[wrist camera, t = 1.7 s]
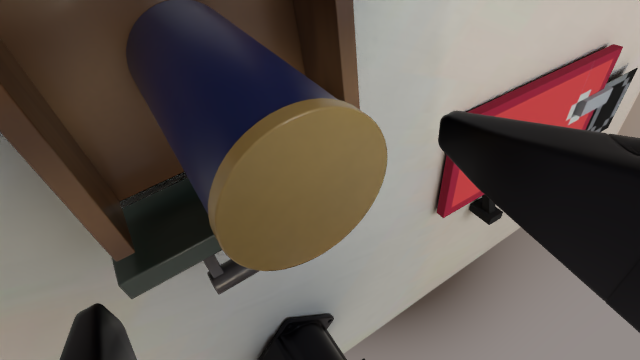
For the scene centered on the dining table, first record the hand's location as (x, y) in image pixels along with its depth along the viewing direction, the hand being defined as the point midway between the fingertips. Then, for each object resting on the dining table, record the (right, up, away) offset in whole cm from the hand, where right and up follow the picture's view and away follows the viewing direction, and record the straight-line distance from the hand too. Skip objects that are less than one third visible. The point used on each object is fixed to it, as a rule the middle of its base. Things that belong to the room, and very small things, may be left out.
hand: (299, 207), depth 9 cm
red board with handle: (+25, +6, +33) cm, 41 cm away
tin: (-5, +6, +6) cm, 10 cm away
